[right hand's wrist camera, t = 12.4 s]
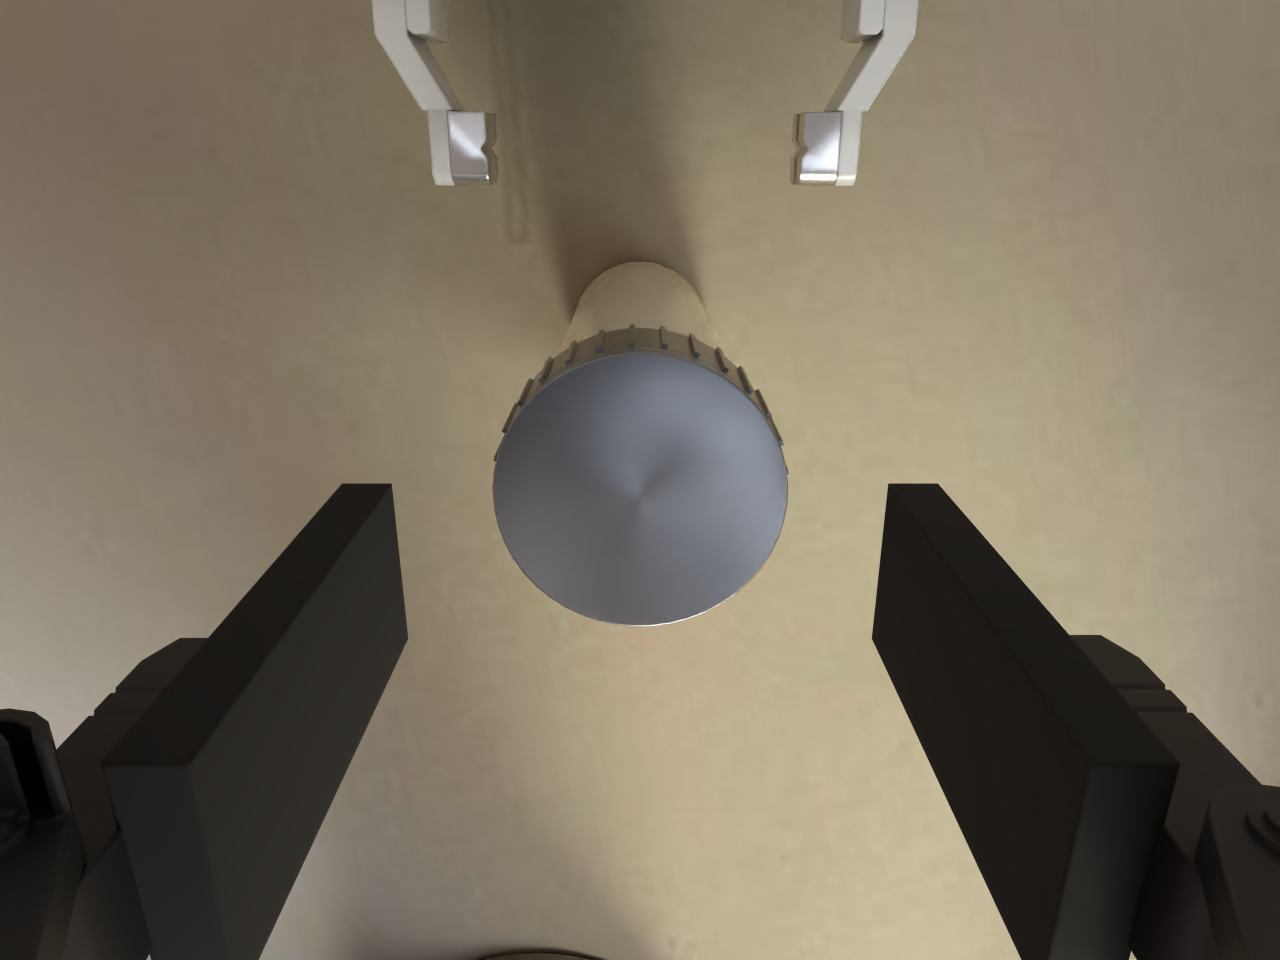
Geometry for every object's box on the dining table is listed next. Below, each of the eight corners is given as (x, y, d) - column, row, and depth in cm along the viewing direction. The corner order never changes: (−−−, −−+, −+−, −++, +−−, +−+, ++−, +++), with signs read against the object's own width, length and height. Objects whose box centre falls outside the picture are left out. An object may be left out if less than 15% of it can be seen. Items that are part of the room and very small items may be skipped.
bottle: (647, 419, 33) (654, 640, 18) (546, 336, 32) (468, 502, 17) (734, 321, 31) (814, 475, 17) (632, 232, 30) (624, 315, 16)
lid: (655, 623, 20) (657, 680, 18) (451, 472, 19) (427, 515, 17) (831, 441, 19) (855, 481, 16) (622, 263, 17) (620, 280, 15)
